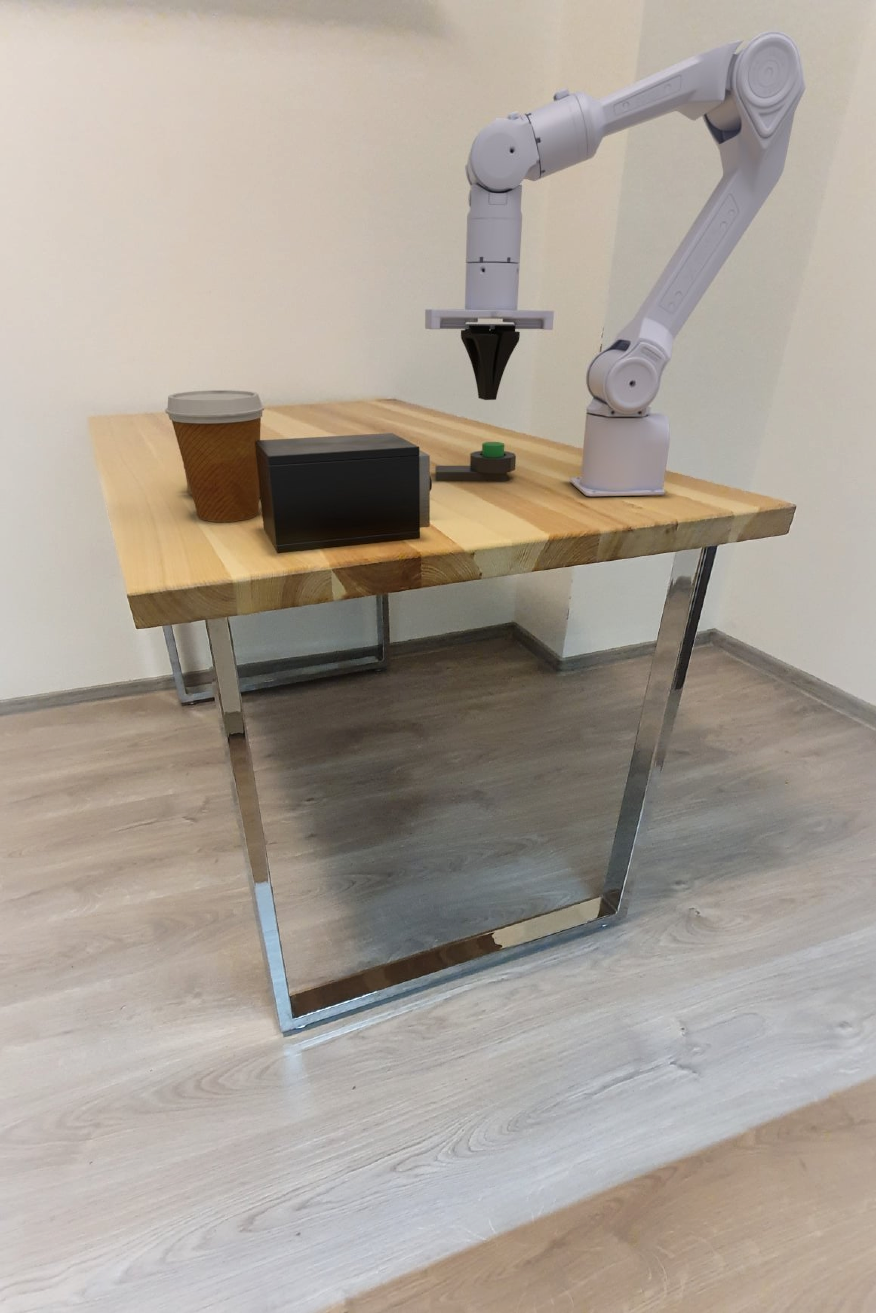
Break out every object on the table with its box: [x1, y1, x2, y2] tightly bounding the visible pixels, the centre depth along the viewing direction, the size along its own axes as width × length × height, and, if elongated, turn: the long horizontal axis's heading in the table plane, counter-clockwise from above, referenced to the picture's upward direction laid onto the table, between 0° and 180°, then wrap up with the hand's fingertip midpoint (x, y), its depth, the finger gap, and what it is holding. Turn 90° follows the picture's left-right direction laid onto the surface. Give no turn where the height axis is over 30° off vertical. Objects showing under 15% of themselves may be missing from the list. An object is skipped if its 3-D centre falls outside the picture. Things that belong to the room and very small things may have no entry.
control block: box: [434, 450, 517, 482], centre depth 93 cm, size 10×6×3 cm, turn 90°
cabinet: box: [255, 432, 421, 554], centre depth 69 cm, size 14×8×9 cm, turn 110°
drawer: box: [419, 449, 433, 529], centre depth 70 cm, size 14×7×7 cm, turn 110°
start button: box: [481, 441, 505, 457], centre depth 92 cm, size 3×3×2 cm
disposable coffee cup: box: [164, 389, 265, 523], centre depth 74 cm, size 10×10×12 cm
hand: (487, 399), depth 83 cm, fingers closed
